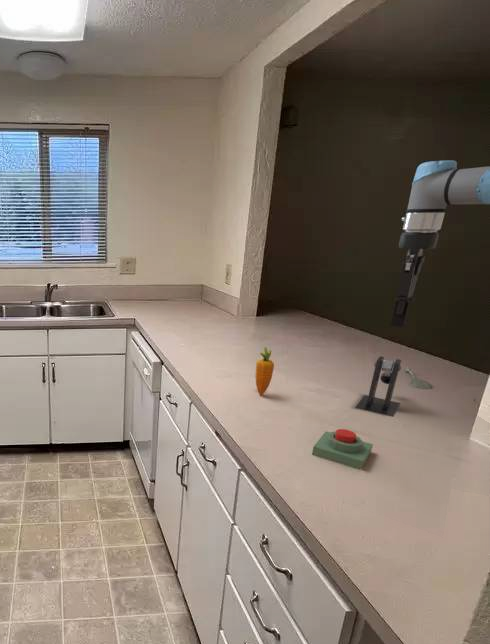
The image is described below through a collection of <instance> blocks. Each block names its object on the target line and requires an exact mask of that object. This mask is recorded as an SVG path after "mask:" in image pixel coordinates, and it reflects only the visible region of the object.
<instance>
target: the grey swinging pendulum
mask: <svg viewBox="0 0 490 644" xmlns="http://www.w3.org/2000/svg"><path fill="white" fill-rule="evenodd" d="M394 363H395V361H394V360H389V359H383V364H382V368H381V372H383V373H382V374H380V381H381V383H383V384H385V385H389V382H390V378H391V374H392V370H393V366H394Z"/></svg>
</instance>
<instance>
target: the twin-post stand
mask: <svg viewBox="0 0 490 644" xmlns="http://www.w3.org/2000/svg"><path fill="white" fill-rule="evenodd" d="M384 358H385V357H384V356H381V355H380V356H378V358H377V359H376V361H374V365H373V366H374V371H373V375H372V379H371V382H370V383H371V384H370V387H369V391H368V395H365V394H363V396H362V398H361V399H360V400H359V402H358V403H357V404H356V406H355V407H354V408H355V409H357V410H362V411H367V412H370V413H375V414H379V415H382V416H383V415H384V416H387V417H393V418H394V416H395V414H396V413H397V411H398V409H399V407H400V405H401V402H399V401H395V400H392V398H393V394H394V390H395V387H396V382H397V379H398V374H399V372H400V371H401V369H402V365H401V363H402V359H399V358H396V360H395V361H394V365H393V368H392V371H391V372H392V374H391V378H390V382H389V384H388V387H387V389H386V390H387V391H386V395H385V399H384V398H379V397H375V396H376V392H377V388H378V383H379V380H380V377H381V372H382V364H383V361H384V360H385V359H384Z"/></svg>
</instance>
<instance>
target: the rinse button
mask: <svg viewBox="0 0 490 644" xmlns="http://www.w3.org/2000/svg"><path fill="white" fill-rule="evenodd" d="M335 431H336V433H335V439H336V440H338V441H340V442H344V443H354V442H355V438H356V436H357V434H356V433H355V432H354V431H352V430H349V429H344V428H339V429H336V430H335Z"/></svg>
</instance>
